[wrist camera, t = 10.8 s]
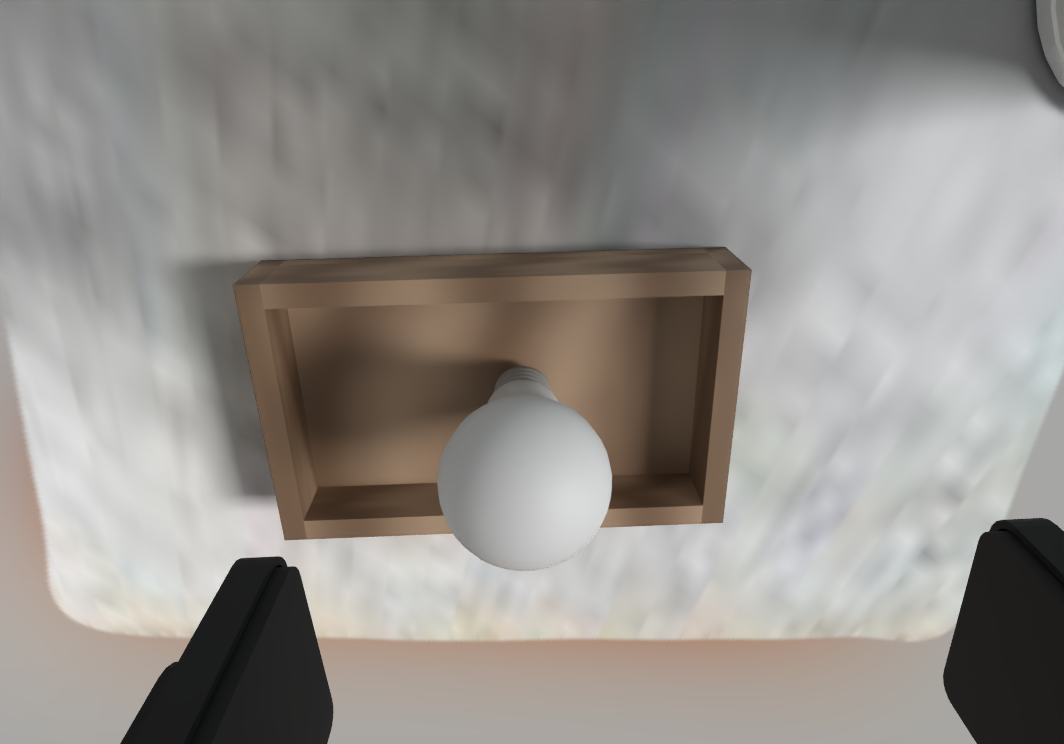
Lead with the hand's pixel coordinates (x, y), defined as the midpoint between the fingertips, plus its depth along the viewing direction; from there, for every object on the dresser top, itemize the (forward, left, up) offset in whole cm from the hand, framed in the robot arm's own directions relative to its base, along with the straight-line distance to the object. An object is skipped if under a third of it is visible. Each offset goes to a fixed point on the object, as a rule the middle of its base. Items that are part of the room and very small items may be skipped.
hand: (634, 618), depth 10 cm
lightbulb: (+1, +6, -22) cm, 23 cm away
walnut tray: (+2, +7, -22) cm, 23 cm away
